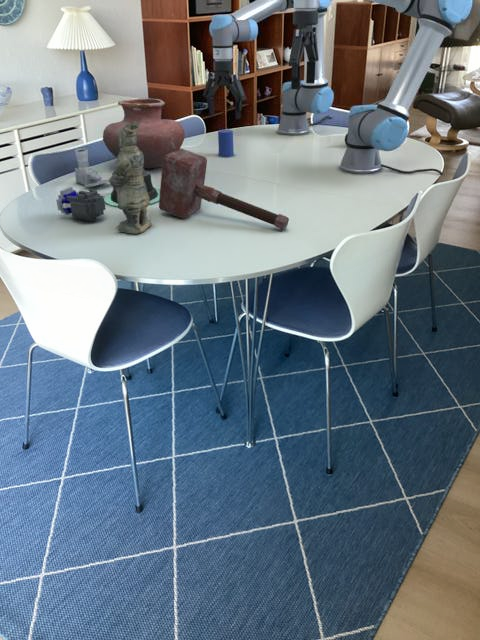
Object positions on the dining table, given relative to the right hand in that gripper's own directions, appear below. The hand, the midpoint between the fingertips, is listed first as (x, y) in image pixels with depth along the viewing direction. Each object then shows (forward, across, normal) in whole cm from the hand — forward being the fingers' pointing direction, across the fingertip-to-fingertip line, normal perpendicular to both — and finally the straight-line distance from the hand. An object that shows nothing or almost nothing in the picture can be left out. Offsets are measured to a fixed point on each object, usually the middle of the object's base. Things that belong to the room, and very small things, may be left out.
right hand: (303, 86), depth 177 cm
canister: (+33, -30, -44) cm, 63 cm away
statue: (+33, +56, -30) cm, 72 cm away
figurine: (+33, -72, +2) cm, 80 cm away
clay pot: (+33, -2, -65) cm, 73 cm away
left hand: (+17, -30, -44) cm, 56 cm away
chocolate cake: (+33, +32, -47) cm, 66 cm away
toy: (+33, +55, -50) cm, 81 cm away
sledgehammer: (+33, +40, -9) cm, 53 cm away
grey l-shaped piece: (+33, +26, -70) cm, 81 cm away
